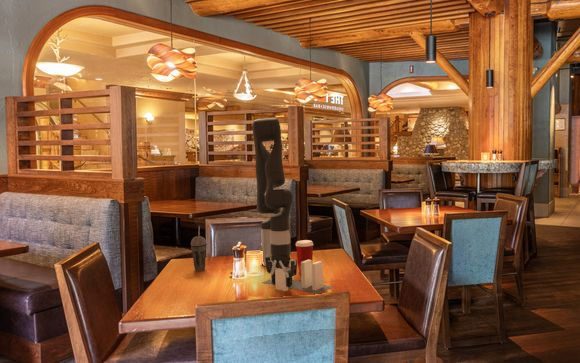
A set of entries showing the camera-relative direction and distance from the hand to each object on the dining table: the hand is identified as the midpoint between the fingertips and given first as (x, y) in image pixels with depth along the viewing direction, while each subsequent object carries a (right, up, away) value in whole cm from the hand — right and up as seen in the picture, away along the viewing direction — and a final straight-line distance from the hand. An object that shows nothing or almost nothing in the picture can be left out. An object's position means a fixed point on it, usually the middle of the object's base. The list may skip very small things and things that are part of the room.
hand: (281, 285), depth 194 cm
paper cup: (+10, 0, +24) cm, 26 cm away
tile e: (+14, -1, 0) cm, 14 cm away
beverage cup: (-38, -1, +38) cm, 54 cm away
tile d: (+10, -1, +3) cm, 10 cm away
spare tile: (0, -2, 0) cm, 2 cm away
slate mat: (+6, -2, +6) cm, 8 cm away
